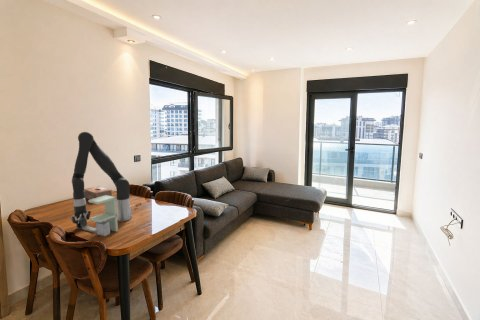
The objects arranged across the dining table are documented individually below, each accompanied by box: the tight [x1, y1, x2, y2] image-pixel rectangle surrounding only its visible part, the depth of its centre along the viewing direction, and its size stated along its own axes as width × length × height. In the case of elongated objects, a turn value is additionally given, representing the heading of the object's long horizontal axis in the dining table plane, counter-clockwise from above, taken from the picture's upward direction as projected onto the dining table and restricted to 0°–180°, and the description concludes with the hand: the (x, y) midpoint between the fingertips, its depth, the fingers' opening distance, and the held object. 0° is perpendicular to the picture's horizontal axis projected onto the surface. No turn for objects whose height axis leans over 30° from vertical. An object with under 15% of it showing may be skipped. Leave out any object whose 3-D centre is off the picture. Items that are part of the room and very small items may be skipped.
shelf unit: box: [87, 195, 119, 232], centre depth 172 cm, size 13×10×25 cm
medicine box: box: [95, 220, 111, 237], centre depth 172 cm, size 8×4×9 cm, turn 68°
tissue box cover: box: [84, 185, 113, 200], centre depth 251 cm, size 26×14×10 cm, turn 54°
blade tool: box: [77, 218, 97, 234], centre depth 179 cm, size 4×18×7 cm, turn 64°
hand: (81, 226), depth 182 cm, fingers closed on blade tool, 4 cm apart
